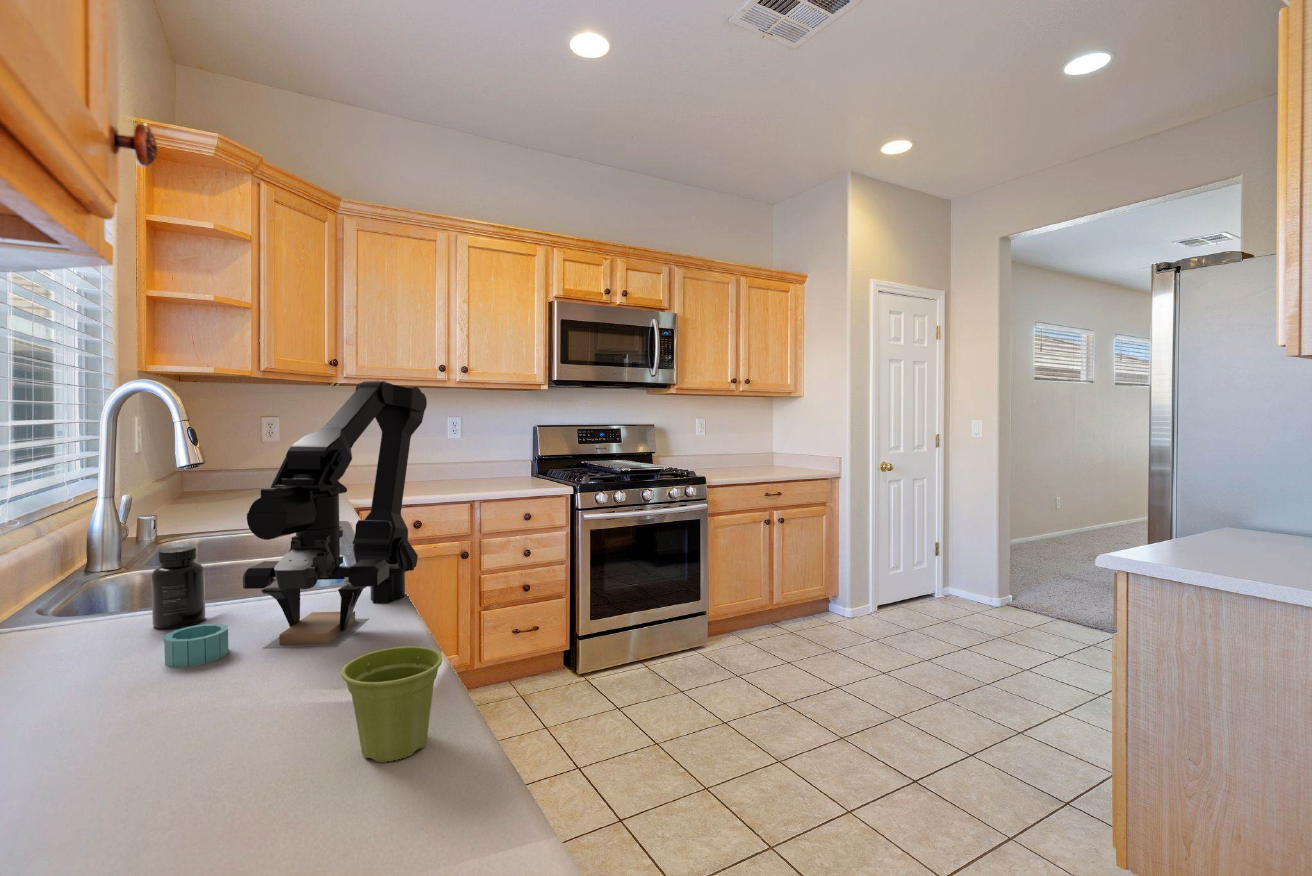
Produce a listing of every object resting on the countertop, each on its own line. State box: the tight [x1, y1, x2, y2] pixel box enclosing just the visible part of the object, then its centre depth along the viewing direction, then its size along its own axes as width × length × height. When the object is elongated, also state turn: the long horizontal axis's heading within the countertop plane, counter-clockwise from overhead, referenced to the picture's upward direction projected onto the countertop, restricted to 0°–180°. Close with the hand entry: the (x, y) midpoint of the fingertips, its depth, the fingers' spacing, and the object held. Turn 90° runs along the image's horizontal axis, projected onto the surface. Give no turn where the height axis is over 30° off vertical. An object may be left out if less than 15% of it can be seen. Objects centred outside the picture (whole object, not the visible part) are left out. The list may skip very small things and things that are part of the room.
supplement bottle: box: [150, 546, 206, 630], centre depth 101 cm, size 7×7×12 cm
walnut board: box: [278, 610, 356, 645], centre depth 93 cm, size 10×6×2 cm, turn 5°
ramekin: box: [163, 623, 229, 668], centre depth 84 cm, size 7×7×4 cm
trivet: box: [262, 618, 369, 649], centre depth 93 cm, size 12×10×1 cm
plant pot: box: [340, 645, 443, 763], centre depth 63 cm, size 9×9×9 cm
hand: (319, 630), depth 93 cm, fingers closed on walnut board, 6 cm apart
